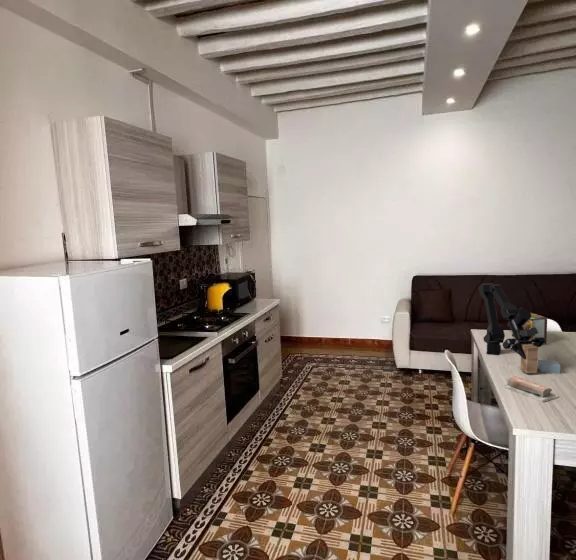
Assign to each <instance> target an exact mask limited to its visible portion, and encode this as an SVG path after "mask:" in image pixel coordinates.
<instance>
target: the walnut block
mask: <svg viewBox="0 0 576 560" xmlns="http://www.w3.org/2000/svg"><path fill="white" fill-rule="evenodd" d="M522 349H523V351H524V354H525V356H526V359H524V358H522V357H521V356H520V369H519V370H520V371H522V372H524V373H525V374H538V359H539V347H536V346H534V345H532V344H528V345H522Z"/></svg>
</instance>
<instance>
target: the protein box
mask: <svg viewBox="0 0 576 560" xmlns="http://www.w3.org/2000/svg"><path fill="white" fill-rule="evenodd" d="M530 313H531V318H530V319H529V320H531V321H532V322H533V326H532V328H534V327H536V329H537V331H538V334H535V336H532V340H533V339H534V338H535V337H544V338H545V340H546V342H545V343H544V344H545V345H546V344H547V337H548V335H547V334H548V317H545V316H542V315H539V314H537V313H533V312H530ZM544 344H543V345H544Z"/></svg>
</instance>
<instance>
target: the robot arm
mask: <svg viewBox="0 0 576 560" xmlns="http://www.w3.org/2000/svg"><path fill="white" fill-rule="evenodd" d="M477 289H478V292H479V295H480V297H481V298H482V299H483V300H484V305H485V310H486V311H485V313H486V315H487V316H486V317H487V323H488V326H487V328H486V334H485V335H484V336H483V341H484V343H486V352H485V353H486V355H487V354H488V355H495V356H499V355H500V354H501V353H502V348H503V349H504V350H507V349H508V350H509V349H510V350H511V351H513V352H515V353H516V354H517V355H518V356H520V358H521V357H522V358H524V359H526V356H525V354H524V351H523V349H522V345H525V344H532V345H534V346H536V347H538V348H541V347H543V345H544V343H545V342H546V340H545V338H544V337H535V338H534V339H533V340H529V339H531V338H532V337H531V336H535V334H538V331H537V329H536V327H534V328H531V329H524V327H523V325H525V324H526V323H527V322H528V320H529V319H530V318H531V313H532V312H530V311H529V310H527V309H525V307H520V308H518V307H517V306H516V305H515V304H513V303H511V302H510V300H509V299H508V298H507V297H508V296H507V295H506V294H505V293H504V291H503V290H502V285H501V284H494V283H480V285H479V286H478V288H477ZM495 301H496V302H497V303H498V305H499V306H500V314H501V317H502V318H503V319H504V320H506V321H507V320H508V321H507V324H506V327H507V328H510V330H511V333H512V334H511V336H512V337H513V338H506V337H505V336H506V334H505V332H504V327H503V326H501V325H500V324H499V320H498V314H497V309H496V304H495ZM514 337H515V339H514ZM505 338H506V339H505ZM546 343H547V342H546ZM501 344H502V345H501Z"/></svg>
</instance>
